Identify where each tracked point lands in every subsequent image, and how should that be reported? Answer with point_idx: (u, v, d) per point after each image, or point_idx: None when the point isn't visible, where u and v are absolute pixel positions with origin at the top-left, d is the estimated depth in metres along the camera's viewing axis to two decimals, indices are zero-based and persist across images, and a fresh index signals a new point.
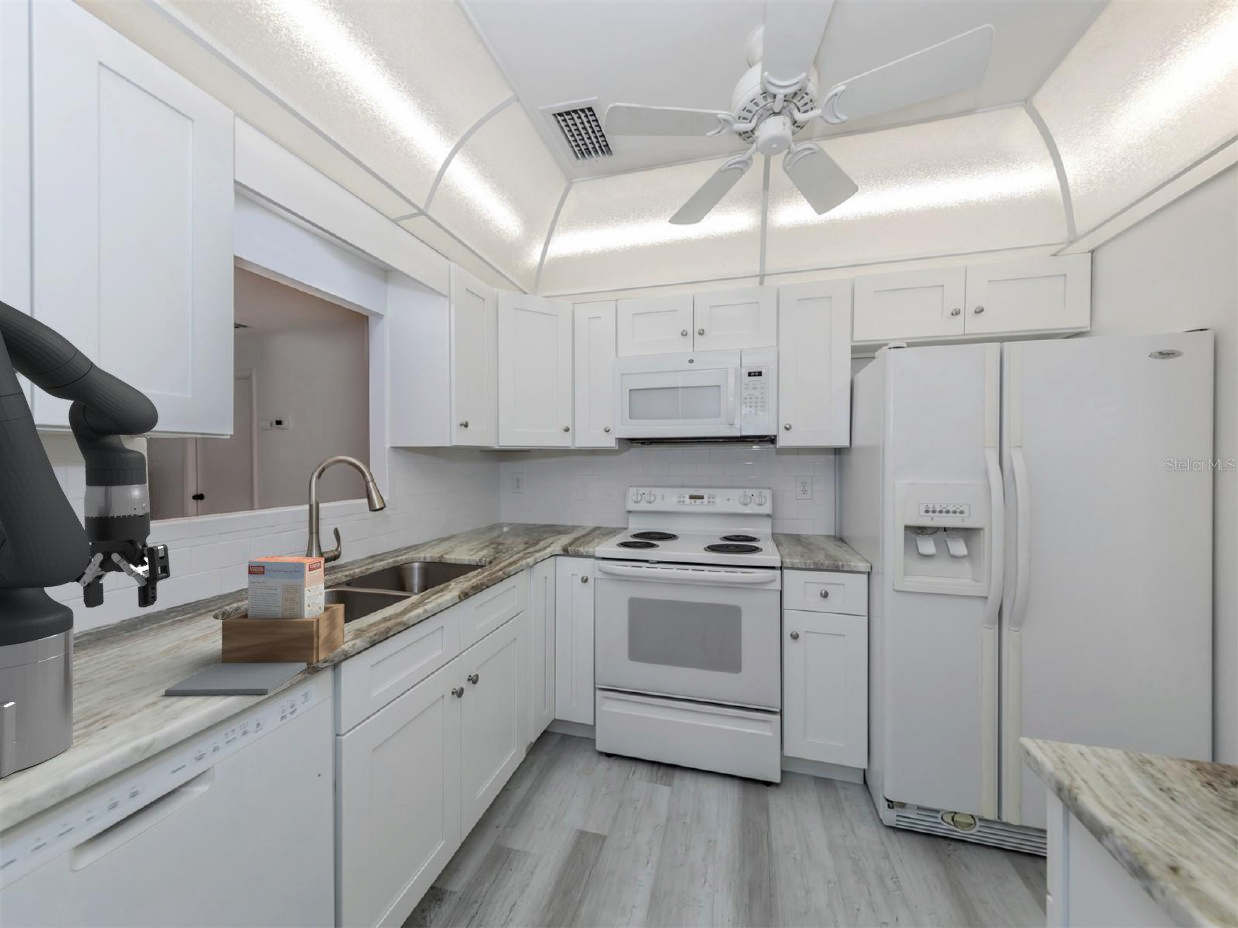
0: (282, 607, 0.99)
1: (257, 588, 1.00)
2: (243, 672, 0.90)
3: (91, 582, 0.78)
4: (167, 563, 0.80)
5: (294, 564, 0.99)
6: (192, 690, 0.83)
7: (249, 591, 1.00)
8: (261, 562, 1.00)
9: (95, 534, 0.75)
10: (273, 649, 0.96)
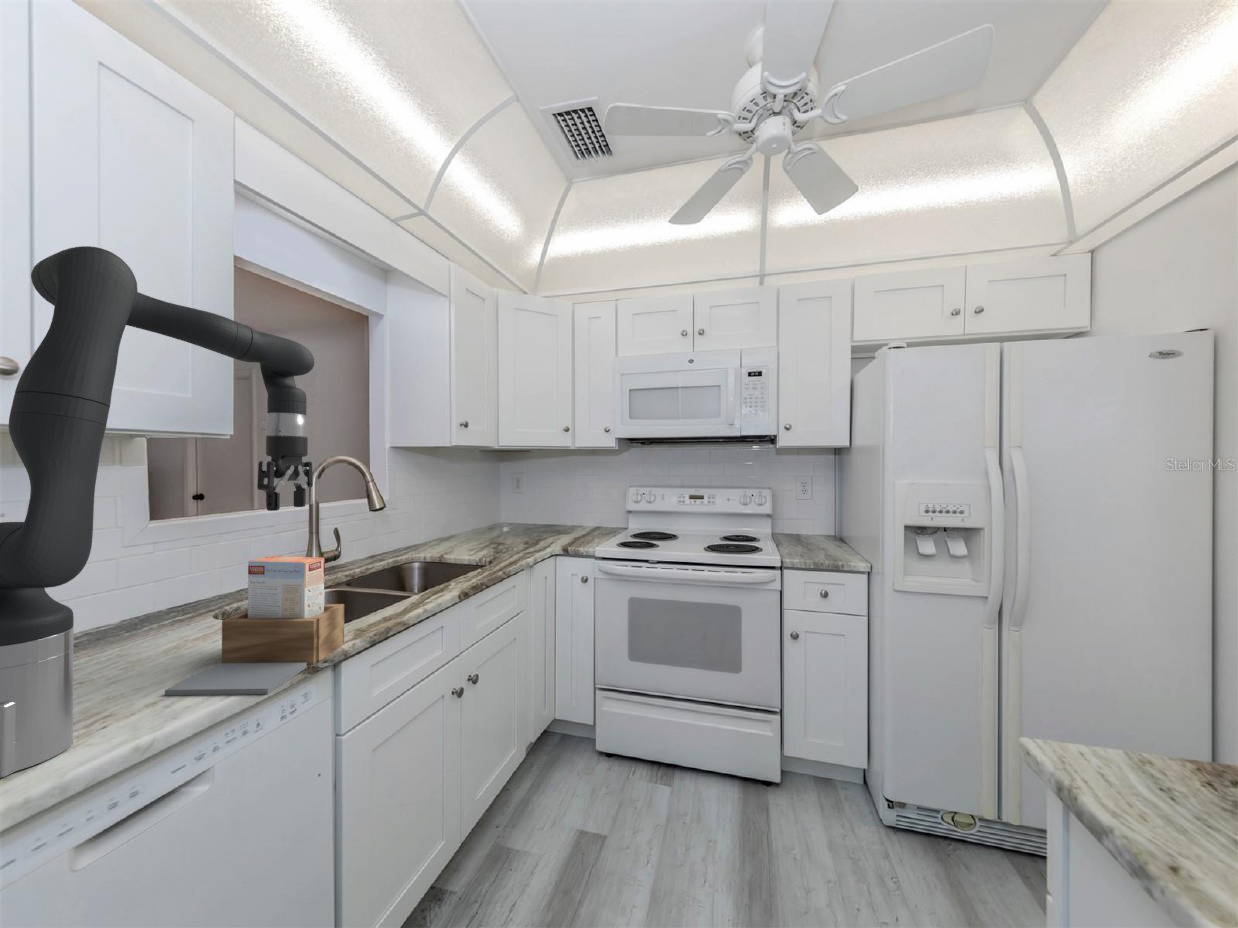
0: (282, 607, 0.99)
1: (257, 588, 1.00)
2: (243, 672, 0.90)
3: None
4: None
5: (295, 564, 0.99)
6: (192, 690, 0.83)
7: (249, 591, 1.00)
8: (261, 562, 1.00)
9: (304, 449, 1.02)
10: (273, 649, 0.96)
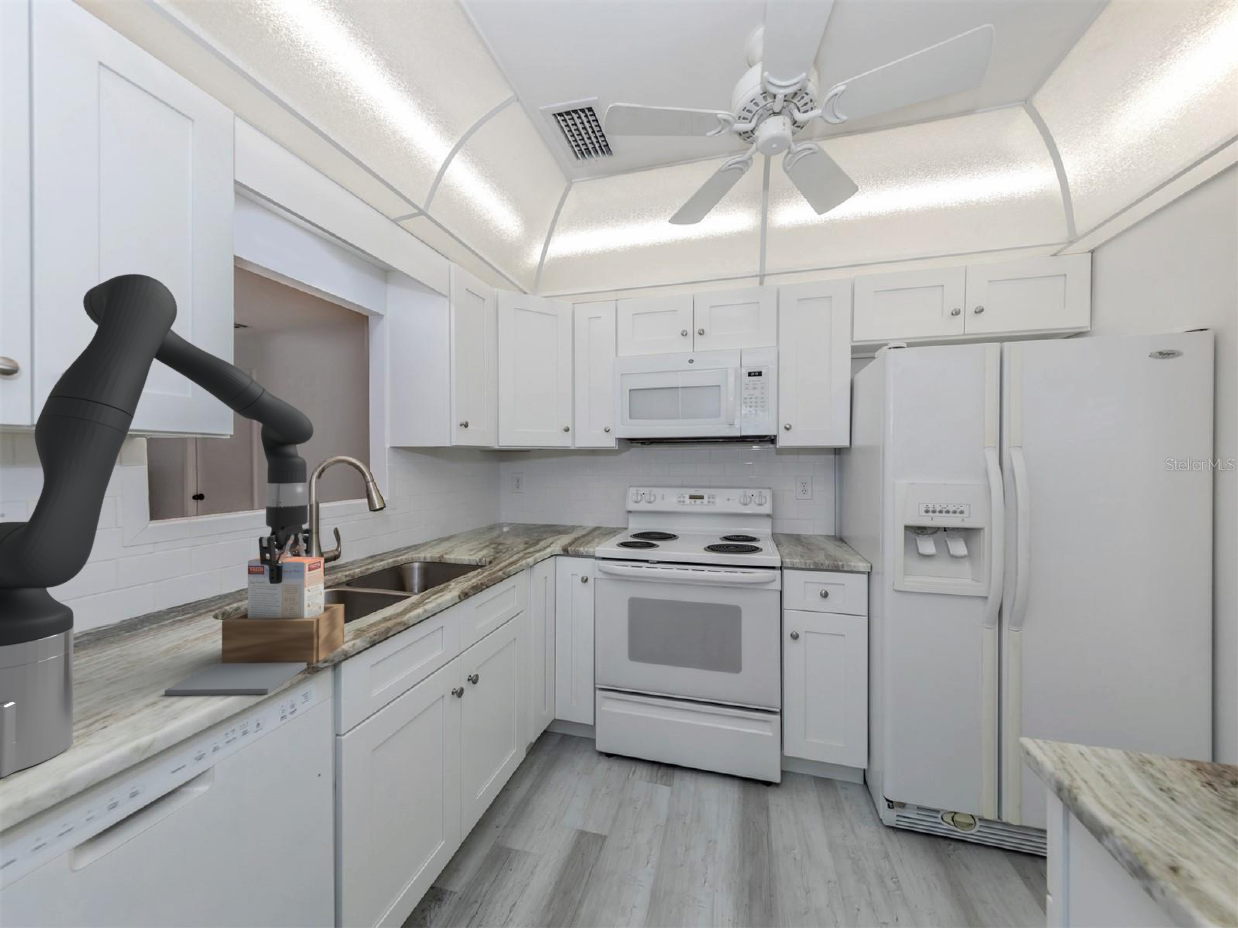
0: (282, 607, 0.99)
1: (256, 588, 1.00)
2: (243, 672, 0.90)
3: None
4: None
5: (294, 564, 0.99)
6: (192, 690, 0.83)
7: (249, 591, 1.00)
8: None
9: (305, 518, 1.02)
10: (273, 649, 0.96)
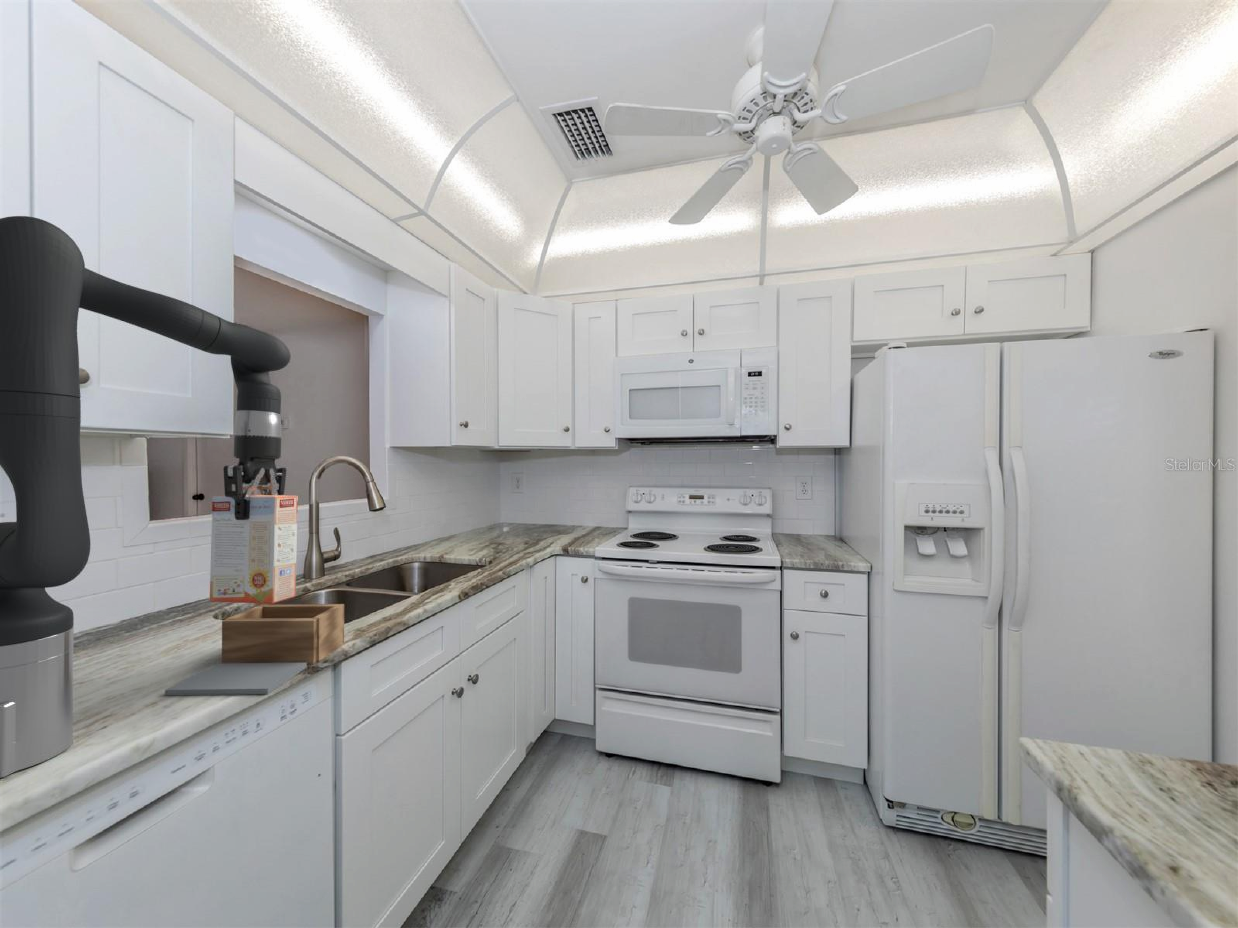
0: (250, 546, 0.90)
1: (221, 526, 0.91)
2: (243, 672, 0.90)
3: None
4: None
5: (264, 499, 0.90)
6: (192, 690, 0.83)
7: (213, 530, 0.91)
8: (227, 498, 0.91)
9: (277, 451, 0.94)
10: (273, 649, 0.96)
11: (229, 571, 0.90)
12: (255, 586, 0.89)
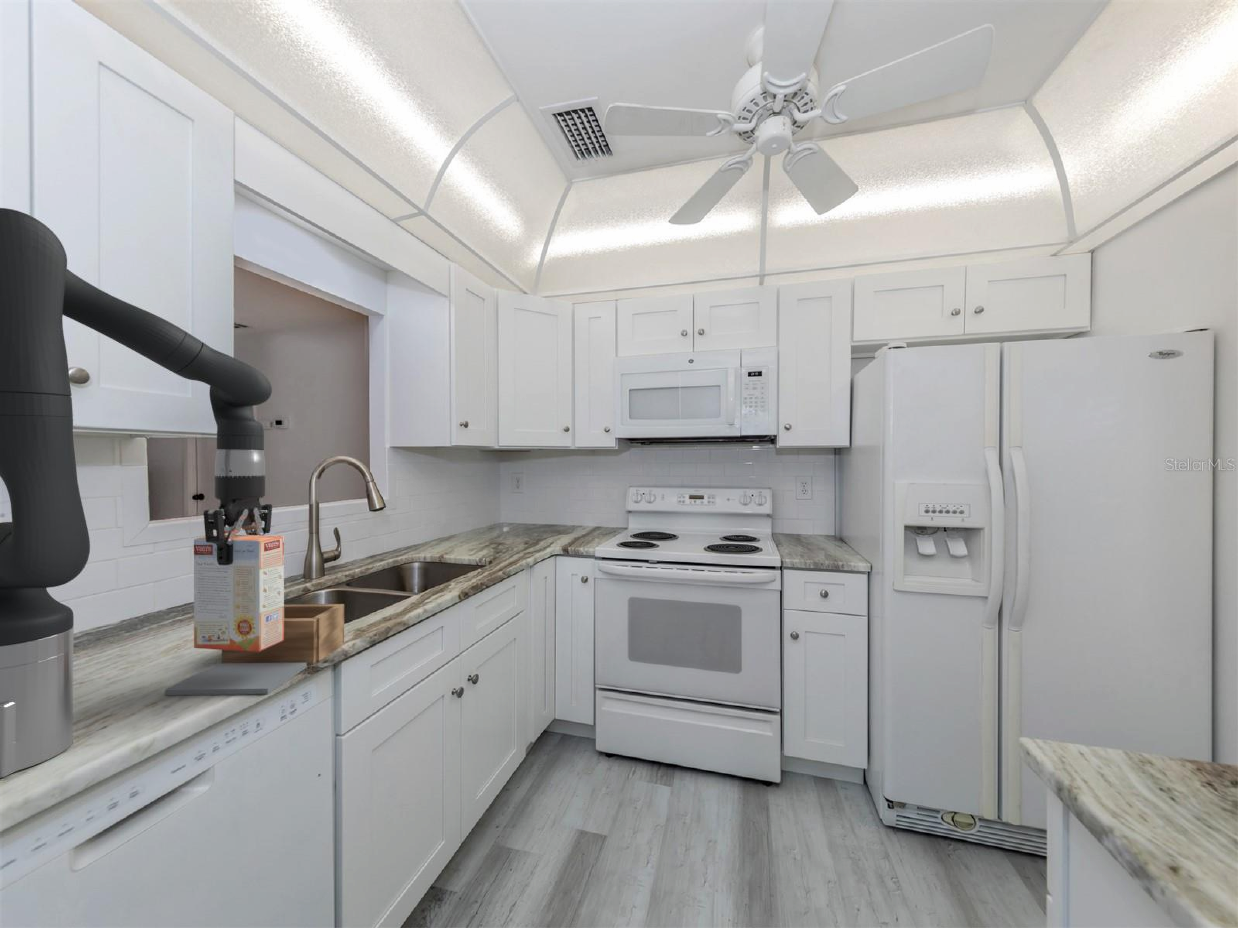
0: (234, 592, 0.86)
1: (204, 570, 0.87)
2: (243, 672, 0.90)
3: None
4: None
5: (247, 543, 0.86)
6: (192, 690, 0.83)
7: (195, 574, 0.87)
8: None
9: (261, 490, 0.89)
10: (273, 649, 0.96)
11: (214, 617, 0.86)
12: (240, 633, 0.86)
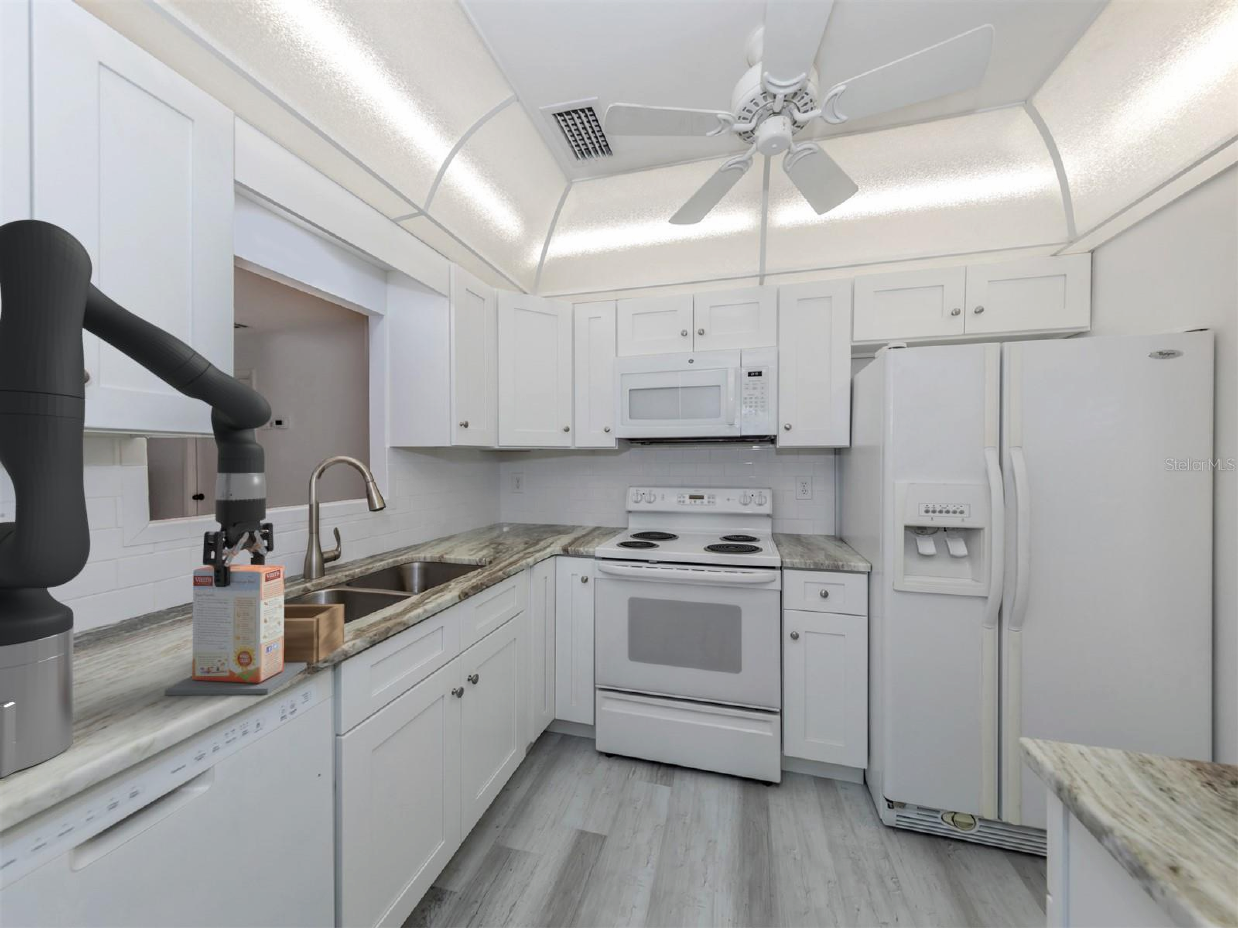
0: (234, 623, 0.86)
1: (203, 601, 0.87)
2: None
3: None
4: None
5: (248, 574, 0.86)
6: (192, 690, 0.83)
7: (194, 605, 0.87)
8: (209, 572, 0.87)
9: (261, 513, 0.89)
10: None
11: (213, 649, 0.86)
12: (240, 664, 0.86)
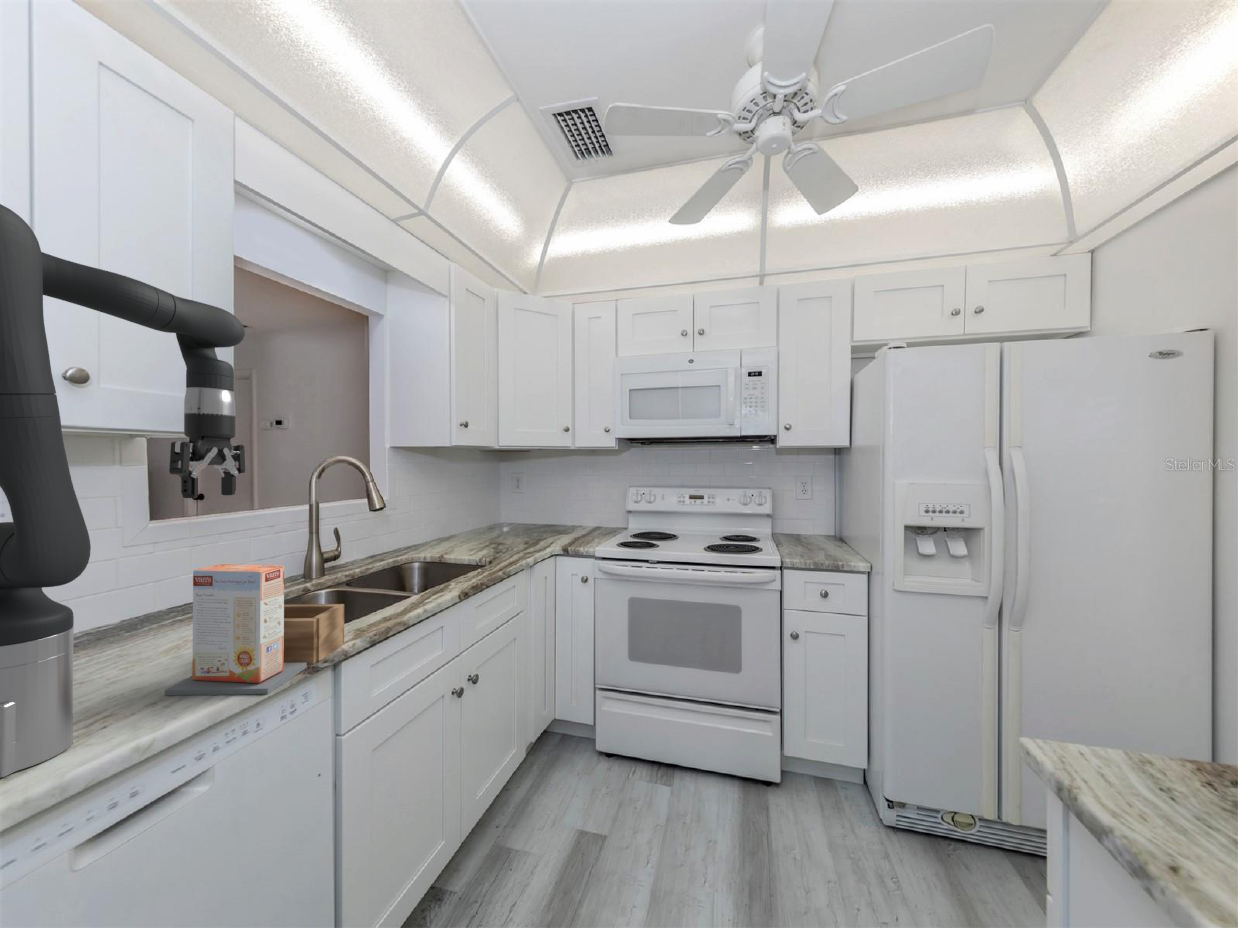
0: (234, 623, 0.86)
1: (203, 601, 0.86)
2: None
3: None
4: None
5: (248, 574, 0.86)
6: (192, 690, 0.83)
7: (194, 605, 0.87)
8: (209, 572, 0.87)
9: (230, 429, 0.91)
10: None
11: (213, 649, 0.86)
12: (240, 664, 0.86)
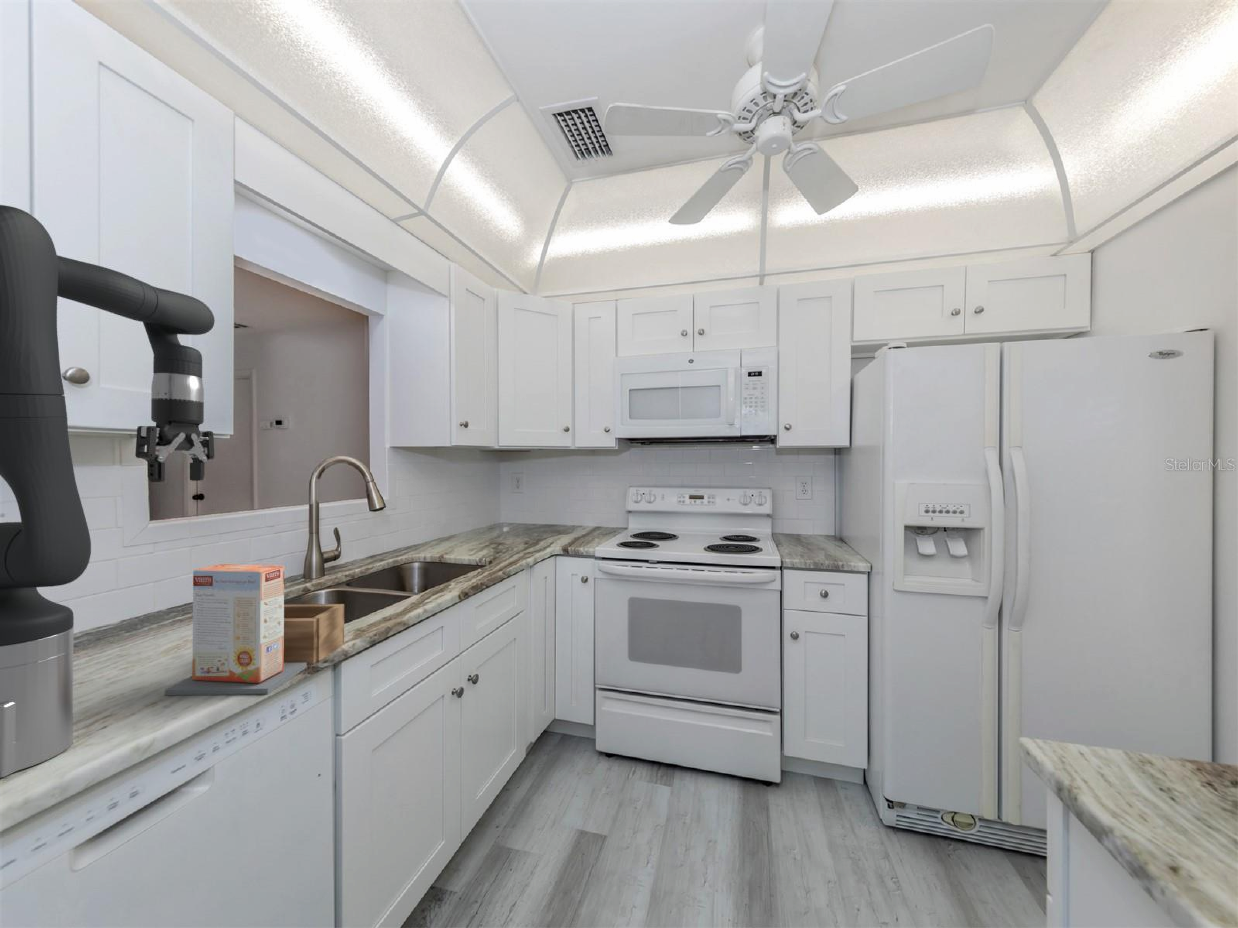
0: (234, 623, 0.86)
1: (203, 601, 0.87)
2: None
3: None
4: None
5: (248, 574, 0.86)
6: (192, 690, 0.83)
7: (194, 605, 0.87)
8: (209, 572, 0.87)
9: (198, 415, 0.92)
10: None
11: (213, 649, 0.86)
12: (240, 664, 0.86)
